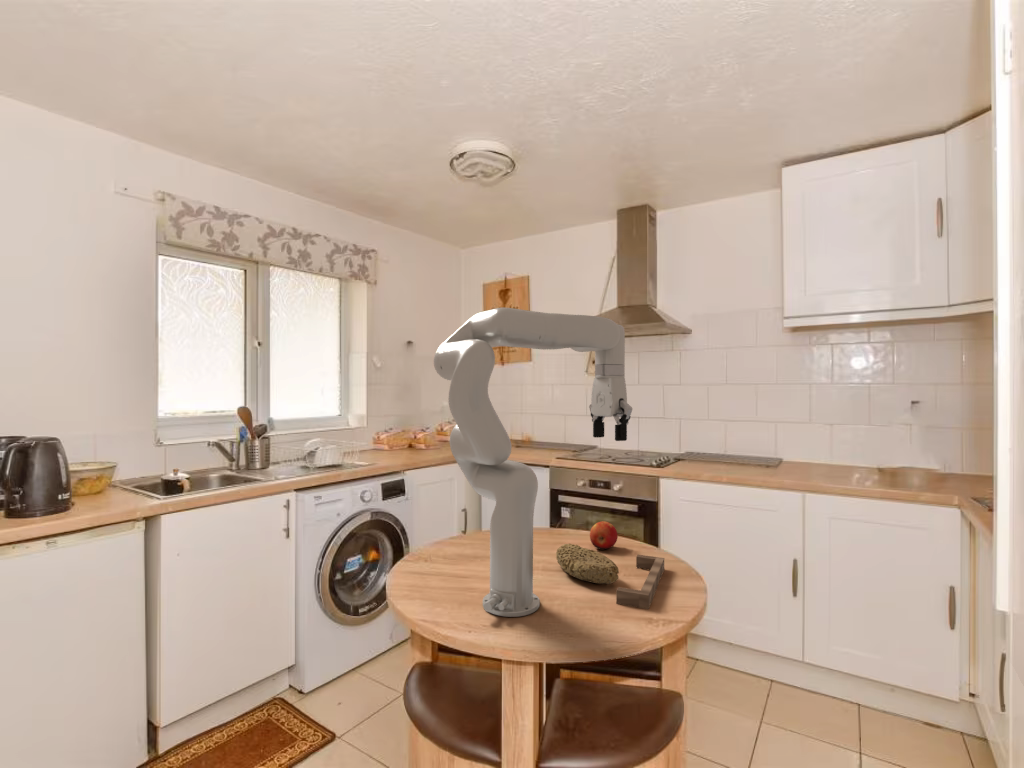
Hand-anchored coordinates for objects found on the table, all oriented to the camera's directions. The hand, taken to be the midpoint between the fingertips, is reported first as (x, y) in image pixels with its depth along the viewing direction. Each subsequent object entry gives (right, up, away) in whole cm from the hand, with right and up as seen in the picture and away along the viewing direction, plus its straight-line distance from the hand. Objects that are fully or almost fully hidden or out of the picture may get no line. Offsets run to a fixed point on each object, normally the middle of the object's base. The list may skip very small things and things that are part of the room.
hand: (609, 438), depth 131 cm
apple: (+2, -36, +22) cm, 42 cm away
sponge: (-6, -35, -1) cm, 36 cm away
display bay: (+7, -35, -7) cm, 36 cm away
